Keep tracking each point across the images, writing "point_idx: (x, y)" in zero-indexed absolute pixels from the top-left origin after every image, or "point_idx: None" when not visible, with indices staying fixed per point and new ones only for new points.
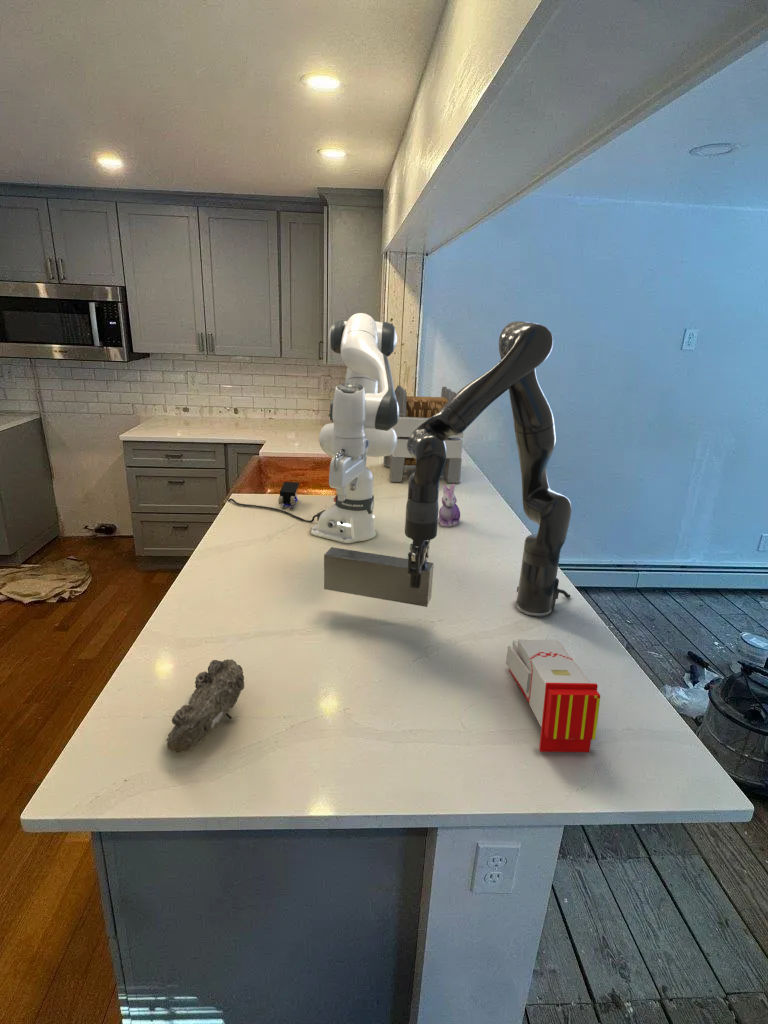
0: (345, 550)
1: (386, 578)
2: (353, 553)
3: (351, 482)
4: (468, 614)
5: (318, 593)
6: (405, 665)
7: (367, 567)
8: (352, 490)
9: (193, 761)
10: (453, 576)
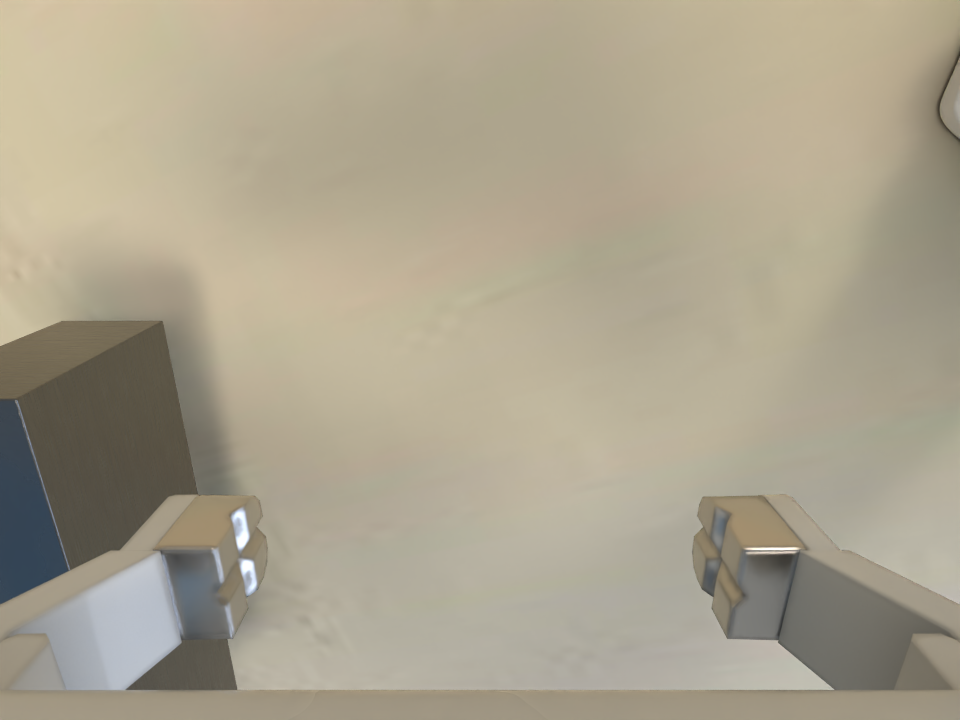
0: (26, 501)
1: None
2: (18, 556)
3: (823, 582)
4: None
5: (311, 186)
6: None
7: None
8: (708, 529)
9: None
10: (659, 629)
